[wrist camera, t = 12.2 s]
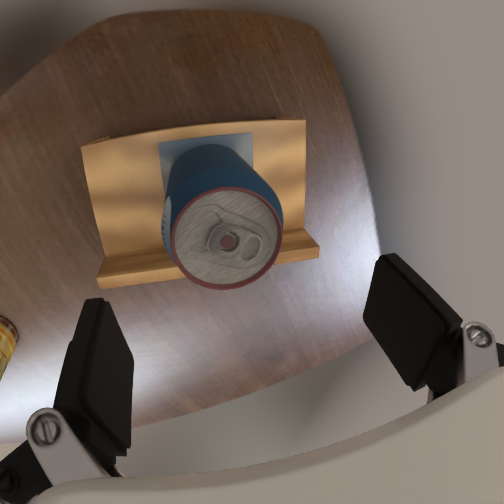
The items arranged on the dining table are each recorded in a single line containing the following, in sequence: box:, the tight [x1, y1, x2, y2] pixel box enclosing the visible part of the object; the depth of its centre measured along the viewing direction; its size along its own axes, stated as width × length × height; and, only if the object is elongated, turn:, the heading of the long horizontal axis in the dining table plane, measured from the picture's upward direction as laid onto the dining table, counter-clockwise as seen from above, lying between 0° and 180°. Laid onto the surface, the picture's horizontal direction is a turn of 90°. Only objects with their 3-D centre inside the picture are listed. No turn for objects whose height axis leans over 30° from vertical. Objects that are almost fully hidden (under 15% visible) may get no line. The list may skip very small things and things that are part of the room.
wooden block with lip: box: [81, 117, 320, 289], centre depth 26 cm, size 12×20×9 cm, turn 92°
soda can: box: [161, 144, 284, 290], centre depth 20 cm, size 7×7×12 cm
